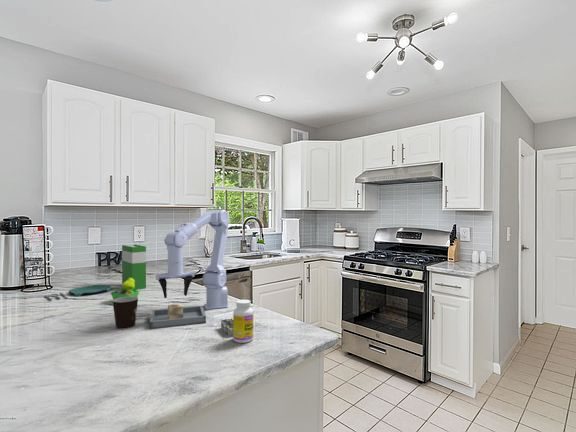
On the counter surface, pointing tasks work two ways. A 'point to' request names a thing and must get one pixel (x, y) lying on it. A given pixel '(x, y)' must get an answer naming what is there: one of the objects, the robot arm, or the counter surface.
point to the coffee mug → (125, 311)
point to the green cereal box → (134, 265)
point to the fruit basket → (126, 290)
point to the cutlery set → (83, 291)
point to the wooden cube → (175, 311)
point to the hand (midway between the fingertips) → (175, 296)
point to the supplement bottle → (243, 322)
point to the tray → (189, 317)
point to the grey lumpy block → (227, 326)
